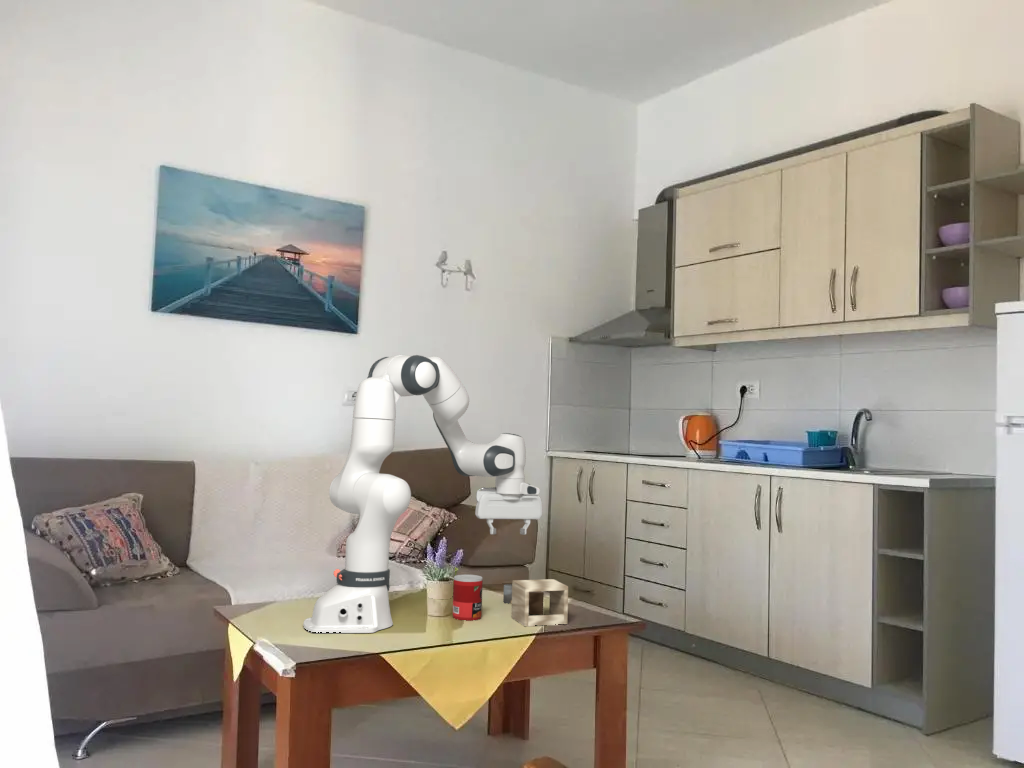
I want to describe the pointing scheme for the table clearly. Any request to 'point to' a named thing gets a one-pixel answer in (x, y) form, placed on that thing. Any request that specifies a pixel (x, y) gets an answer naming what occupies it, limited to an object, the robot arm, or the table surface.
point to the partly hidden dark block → (534, 599)
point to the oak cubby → (556, 604)
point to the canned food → (467, 597)
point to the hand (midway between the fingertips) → (508, 534)
